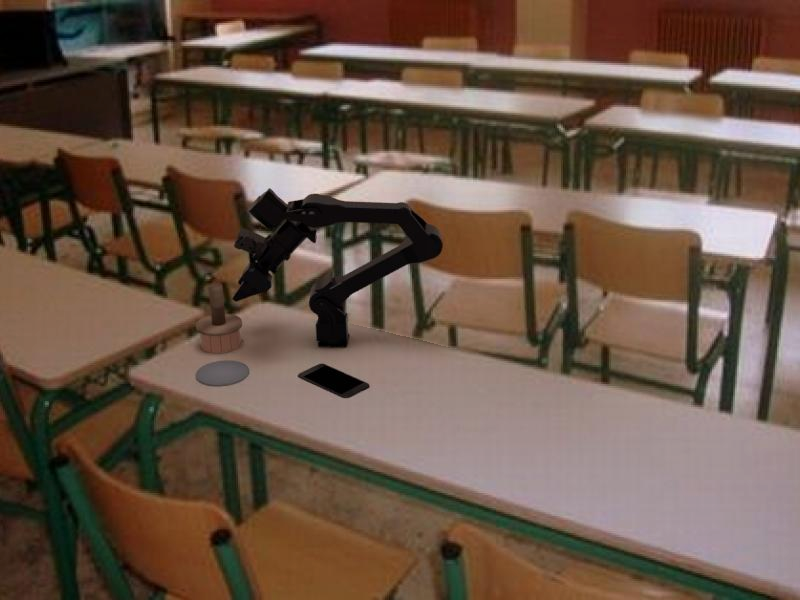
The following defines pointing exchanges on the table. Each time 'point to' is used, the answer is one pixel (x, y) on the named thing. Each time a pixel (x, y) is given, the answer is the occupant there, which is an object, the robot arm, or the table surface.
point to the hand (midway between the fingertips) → (236, 291)
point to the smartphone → (333, 380)
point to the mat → (222, 373)
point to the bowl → (220, 342)
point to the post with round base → (218, 316)
